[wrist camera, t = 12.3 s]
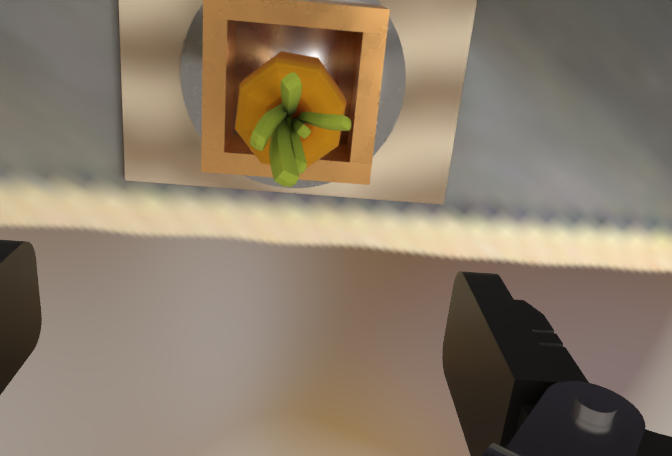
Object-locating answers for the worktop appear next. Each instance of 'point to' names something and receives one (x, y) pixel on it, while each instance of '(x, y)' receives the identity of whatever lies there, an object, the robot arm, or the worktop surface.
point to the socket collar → (305, 39)
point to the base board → (385, 184)
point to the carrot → (290, 114)
